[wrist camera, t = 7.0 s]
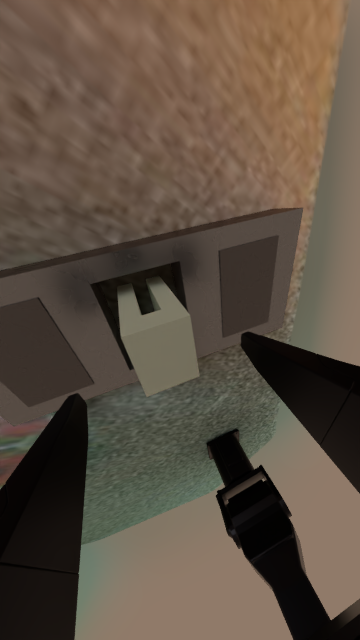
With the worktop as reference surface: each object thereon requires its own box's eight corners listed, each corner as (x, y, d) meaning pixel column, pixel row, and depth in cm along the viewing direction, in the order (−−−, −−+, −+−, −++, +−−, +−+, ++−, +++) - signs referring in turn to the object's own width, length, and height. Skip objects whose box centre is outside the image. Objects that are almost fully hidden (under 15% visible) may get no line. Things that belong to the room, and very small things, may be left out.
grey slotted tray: (262, 314, 22) (282, 327, 19) (27, 395, 17) (13, 427, 15) (273, 208, 16) (304, 207, 13) (-82, 289, 11) (-140, 311, 9)
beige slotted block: (169, 321, 18) (199, 376, 12) (134, 332, 17) (146, 396, 11) (159, 275, 16) (190, 315, 9) (116, 286, 15) (120, 337, 9)
